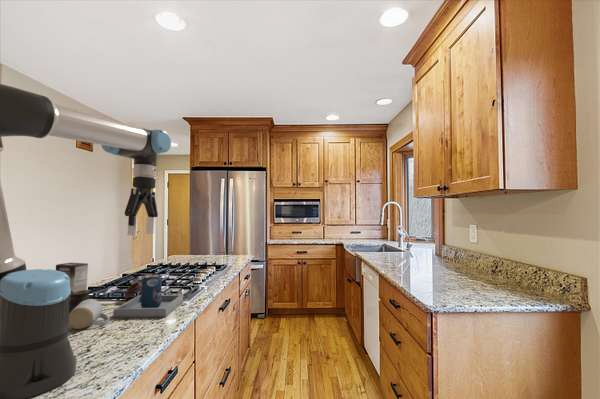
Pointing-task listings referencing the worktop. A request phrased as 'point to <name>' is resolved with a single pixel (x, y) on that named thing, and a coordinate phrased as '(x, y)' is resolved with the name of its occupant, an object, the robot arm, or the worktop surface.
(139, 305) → the tray
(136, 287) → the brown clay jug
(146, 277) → the soda can
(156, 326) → the worktop surface
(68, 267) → the coffee box
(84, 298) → the mate gourd
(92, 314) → the ceramic mug
